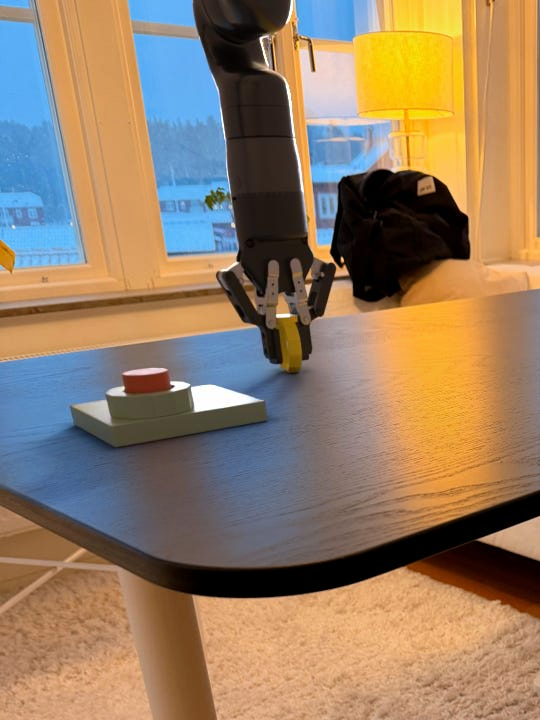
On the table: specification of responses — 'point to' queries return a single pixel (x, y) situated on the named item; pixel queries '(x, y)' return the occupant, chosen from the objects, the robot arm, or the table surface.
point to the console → (165, 413)
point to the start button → (146, 380)
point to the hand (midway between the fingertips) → (289, 360)
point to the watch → (289, 342)
